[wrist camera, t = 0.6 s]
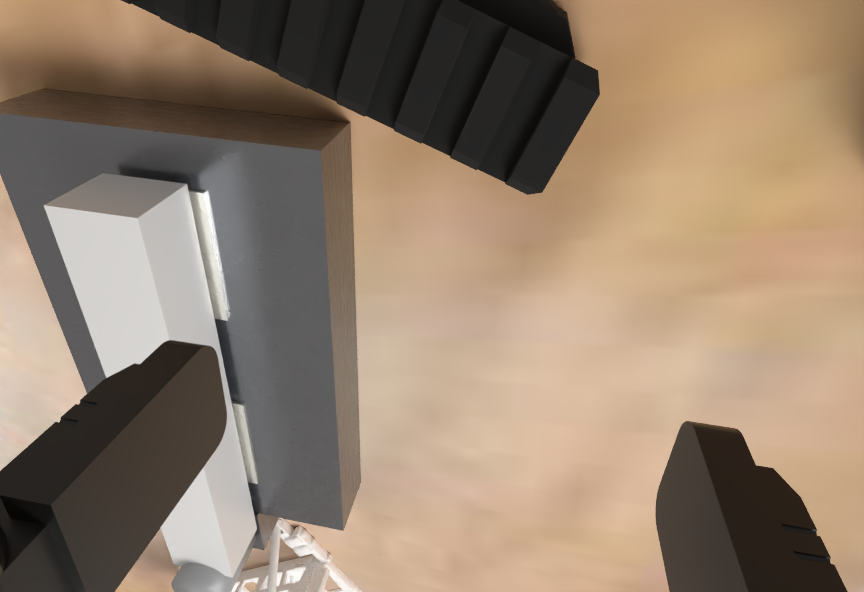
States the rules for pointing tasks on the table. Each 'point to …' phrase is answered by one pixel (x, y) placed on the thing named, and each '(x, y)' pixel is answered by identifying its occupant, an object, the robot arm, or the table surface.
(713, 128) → the table surface
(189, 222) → the bar
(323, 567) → the film strip holder
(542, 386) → the table surface
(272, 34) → the rail mount
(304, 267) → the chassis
